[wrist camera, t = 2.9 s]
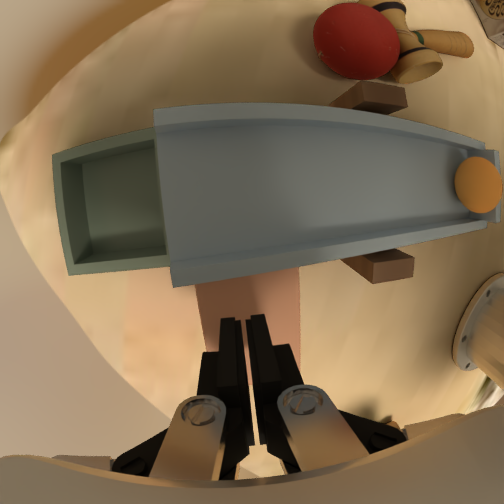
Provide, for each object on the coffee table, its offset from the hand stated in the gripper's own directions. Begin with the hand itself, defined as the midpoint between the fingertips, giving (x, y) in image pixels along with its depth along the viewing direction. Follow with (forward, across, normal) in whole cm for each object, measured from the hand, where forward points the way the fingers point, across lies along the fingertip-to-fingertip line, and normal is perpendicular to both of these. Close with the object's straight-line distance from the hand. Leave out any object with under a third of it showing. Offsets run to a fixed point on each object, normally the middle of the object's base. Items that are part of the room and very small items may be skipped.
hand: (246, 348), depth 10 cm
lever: (+4, -7, -3) cm, 9 cm away
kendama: (+10, -15, -18) cm, 25 cm away
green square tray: (+10, +7, -6) cm, 13 cm away
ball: (+3, -15, -6) cm, 16 cm away
